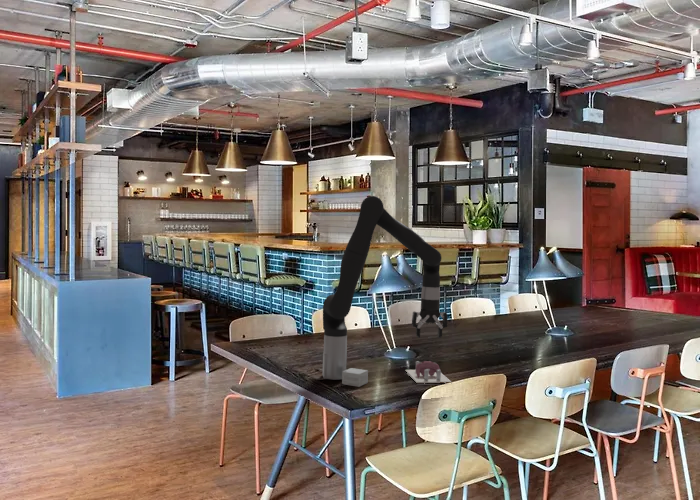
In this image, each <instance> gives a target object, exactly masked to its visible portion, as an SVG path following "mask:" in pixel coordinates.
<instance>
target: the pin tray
mask: <svg viewBox="0 0 700 500" xmlns="http://www.w3.org/2000/svg"><path fill="white" fill-rule="evenodd" d="M420 362H421V361H419V360H417V361H415V366H416V365H417V364H418V363H420ZM405 371H406V372H407V373H406V372H405V373H406V375H407V376H408V377H409V376H410V377H411V378H412V379H413V380H414V381H415V382H416V383H424V384H423V385H426V384H425V383H440V382H444V383H446V382H451V383H452V381H451V380H450V379H449V378H448V377H447V376H446V375H444V374H443V373H442V371H441V369H440V370H437V373H436V372H435V373H434V375H433V376H430V375H429V371H430V369H425V370H424V376H423V375H421V373H420V376H419V377H417V374H416V369H405ZM410 377H409V378H410ZM411 378H410V379H411ZM412 379H411V380H412ZM413 380H412V381H413ZM414 381H413V382H414ZM415 382H414V383H415ZM416 383H415V384H416Z"/></svg>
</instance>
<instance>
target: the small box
mask: <svg viewBox="0 0 700 500" xmlns="http://www.w3.org/2000/svg"><path fill="white" fill-rule="evenodd" d="M368 375H369V370H368V369H361V368H355V367H350V368H348V369H347V368H346V370H345V371H343V372H342V379H341V381H342V382H341V385H347V386H353V387H358V388H360V387H363V386H364V385H366V384H368V383H369V382H368V381H369V380H368V379H369V376H368Z"/></svg>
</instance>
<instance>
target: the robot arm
mask: <svg viewBox="0 0 700 500" xmlns="http://www.w3.org/2000/svg"><path fill="white" fill-rule="evenodd" d="M359 209H360V210H359V215H358V217H357V218H358V219H357V222H356V225H355V229H354V230H353V232H352V234H351V236H350V238H349V240H348V242H347V244H346V247H345V250H344V251H343V255H342V258H341V263H340V267H339V269H340V270H339V280H338V281H339V282H338V284H337V286H336V287H337V288H336V290H335V291H334V293H333V294H330V295H328V296H327V297H326V298H324V301H323V304H322V326H323V331H324V332H323V334H324V335H323V352H322V377H323V378H322V379H323V380H334V381H335V380H336V381H337V380H342V372H343V371H345V370H347V354H348V353H347V350H348V349H347V348H348V347H347V346H348V328H347V325H346V322H345V321H346V317H347V316H348V315H349V313H350V311H351V308H352V303H353V299H354V294H355V291H356V288H357V285H358V283H359V280H360V277H361V275H362V271H363V269H364V267H365V264H366V261H367V259H368V254H369V251H370V248H371V244H372V239H373V234H374V231H375V229H376V227H377V226H378V227H381V228H382V229H383V230H385V232H387V233H388V234H389V235H390V236H392V237H393V238H394V239H395V240H397V242H399V243H400V244H401V245H402V246H403V247H405V248H406V249H408V250H409V251H410V252H411V253H413V254H414V255H416V256H417V257H418V258H419V259H420V260H421V261H422V265H423V272H422V273H423V275H422V283H421V285H422V287H421V293H420V311H418V312H417V311H412V317H411V326H412V327H413V328H415V336H416V337H417V338H418V339H419V338H421V328H422V326H423V325H424V324H430V323H431V324H434V323H435V324H436V326H437V327H438V328H437V338H438V339H441V338H442V337H443V329H445V328H447V327H448V314H447V312H445V311H443V312H440V305H441V303H440V302H441V301H440V300H441V287H440V286H441V274H440V266H441V262H442V254H441V252H440V251H439V250H438V249H437V248H435V247H434V246H432V245H431V244H429V242H427V241H425V239H424V238H422V236H420V235H419V234H418V233H416V231H414V230H413V229H411V228H410V227H409V226H407V225H405V224H404V223H402V222H401V221H399V220H398V219H396V218H395V217H394V216H392V215H391V214H390V213H389V212H388V211H387V210H386V209H385V207H384V203H383V200H382V199H381V198H379V197H378V196H376V195H370V196H368V197H365V198H364V199H363V200H362V201H361V204H360V208H359ZM419 317H420V319H419V320H418V322H417V318H419ZM440 317H441V318H442V324H441V322H440V320H439V318H440Z"/></svg>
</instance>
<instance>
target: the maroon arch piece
mask: <svg viewBox="0 0 700 500" xmlns="http://www.w3.org/2000/svg"><path fill="white" fill-rule="evenodd" d="M419 362H420V363H418V364H417V365H416V364H415V370H416V374H417V377H419V376H420V373H421V375H423V376H424V370H427V369H430V371H429V375H430V376H433V375H434V373H435V372H436V373H437V370H441V369H440V365H439V364H438V363H437V362H433V361H431V360H429V361H427V360H423V361H419Z"/></svg>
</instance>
